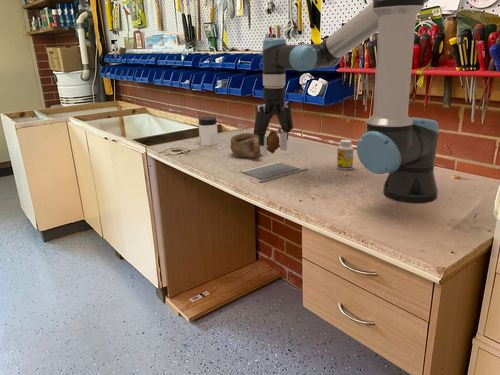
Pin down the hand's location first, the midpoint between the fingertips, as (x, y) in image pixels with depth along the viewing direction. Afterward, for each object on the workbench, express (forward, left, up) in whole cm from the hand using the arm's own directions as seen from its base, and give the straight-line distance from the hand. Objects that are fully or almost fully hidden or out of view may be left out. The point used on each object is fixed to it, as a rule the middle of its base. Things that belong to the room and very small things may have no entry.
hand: (273, 152), depth 149 cm
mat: (+2, 0, -7) cm, 8 cm away
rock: (0, 0, 0) cm, 0 cm away
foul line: (-6, 0, -7) cm, 9 cm away
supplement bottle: (-14, -22, -8) cm, 27 cm away
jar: (+53, -6, -8) cm, 54 cm away
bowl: (+23, -7, -8) cm, 26 cm away
